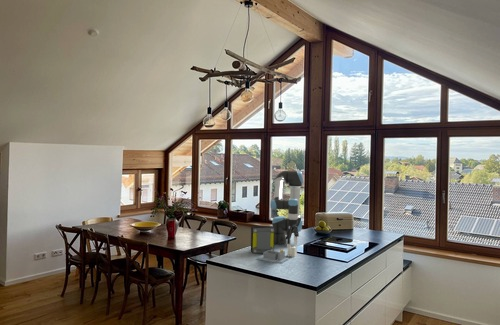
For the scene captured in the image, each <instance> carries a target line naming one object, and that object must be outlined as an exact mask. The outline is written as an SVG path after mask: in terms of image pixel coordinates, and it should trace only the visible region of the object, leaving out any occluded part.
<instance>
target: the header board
mask: <svg viewBox="0 0 500 325" xmlns="http://www.w3.org/2000/svg"><path fill="white" fill-rule="evenodd" d="M256 260H259V261H265V262H270V263H271V262H272V263H276V264H283V263H285V262H287V261H288V260H289V258H288V257H286V251H284V248H281V249H280V250H279V251H275V250H274V251H270V250H268V251H266V252H263V253H262V255H260V256H258V257H257V258H256Z"/></svg>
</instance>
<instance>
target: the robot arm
mask: <svg viewBox="0 0 500 325" xmlns="http://www.w3.org/2000/svg"><path fill="white" fill-rule="evenodd" d="M274 184H275V185H274V193H273V199H270V206H269V207H270V209H272V210H287V217H286V215H285V216H283V215H282V216H281V215H280V216H275V217H273V218H272V225H271V226H273V227H274V245H286V248H287V249H288V248H291V246H292V240H291V238H292V235H293V246H298V237H299V236H300V234H299V233H300V232H301V231H302V228H303V222H304V221H303V218H302V216H301V215H300V201H301V200H300V198H301V197H300V196H301V188H302V185H304V177H303V172H302V171H299V170H283V171H281V172H280V171H279V173H278V174H277V175H276V176H275V179H274ZM285 185H288V187H289V190H290V191H289V199H284V193H285V192H284V189H285Z"/></svg>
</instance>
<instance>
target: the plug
mask: <svg viewBox="0 0 500 325" xmlns="http://www.w3.org/2000/svg"><path fill="white" fill-rule="evenodd" d="M286 253H287V257H292V258H295V257H297V255H298V246H296V245H291V248H287V252H286Z"/></svg>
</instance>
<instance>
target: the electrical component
mask: <svg viewBox="0 0 500 325" xmlns="http://www.w3.org/2000/svg"><path fill="white" fill-rule="evenodd" d="M274 249H275V244H274V227H273V226H272V225H257V226H256V225H255V226H253V225H251V226H250V253H251V254H263V252H266V251H268V250H270V251H275V250H274Z"/></svg>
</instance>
